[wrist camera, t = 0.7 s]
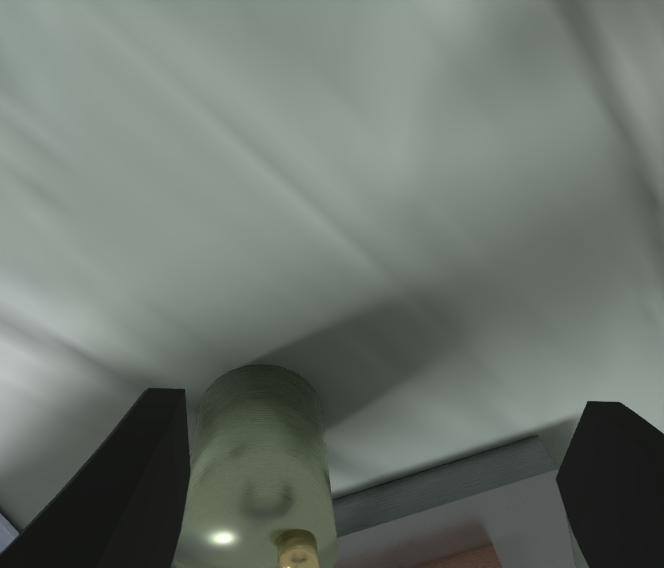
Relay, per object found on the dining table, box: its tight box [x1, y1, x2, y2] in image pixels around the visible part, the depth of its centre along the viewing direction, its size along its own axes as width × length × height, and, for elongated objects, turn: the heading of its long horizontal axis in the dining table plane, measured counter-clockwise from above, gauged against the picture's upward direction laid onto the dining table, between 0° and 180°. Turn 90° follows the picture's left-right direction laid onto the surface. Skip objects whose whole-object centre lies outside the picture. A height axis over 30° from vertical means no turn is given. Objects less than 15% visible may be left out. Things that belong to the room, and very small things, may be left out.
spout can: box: [174, 365, 338, 568], centre depth 19 cm, size 5×5×8 cm
